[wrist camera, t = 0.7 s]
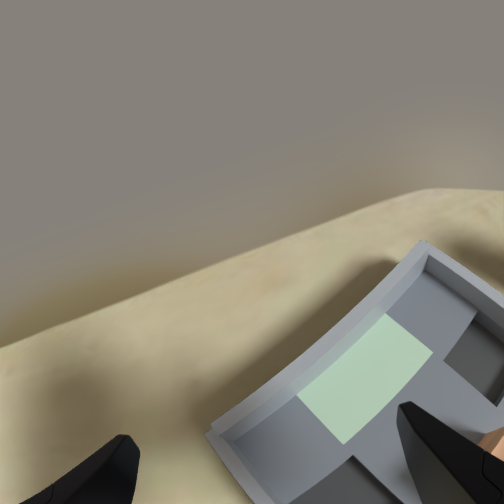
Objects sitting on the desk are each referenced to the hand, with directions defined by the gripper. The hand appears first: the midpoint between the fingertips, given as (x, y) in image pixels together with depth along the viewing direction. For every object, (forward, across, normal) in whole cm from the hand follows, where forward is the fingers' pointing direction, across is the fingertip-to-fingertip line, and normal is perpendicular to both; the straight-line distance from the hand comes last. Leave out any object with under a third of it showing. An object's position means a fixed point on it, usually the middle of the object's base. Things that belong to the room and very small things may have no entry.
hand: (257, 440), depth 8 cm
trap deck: (+6, -9, +11) cm, 16 cm away
